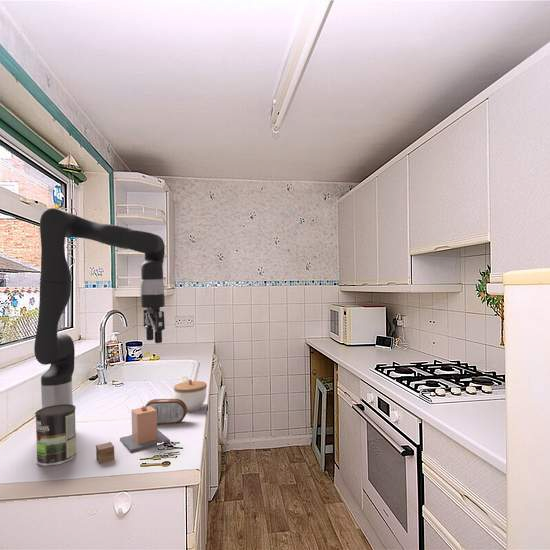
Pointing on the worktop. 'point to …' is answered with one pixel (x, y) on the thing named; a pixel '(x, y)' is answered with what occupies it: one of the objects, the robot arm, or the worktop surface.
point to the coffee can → (55, 434)
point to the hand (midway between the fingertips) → (154, 341)
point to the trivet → (133, 446)
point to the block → (105, 452)
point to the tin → (168, 410)
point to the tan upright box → (144, 424)
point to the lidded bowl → (191, 394)
